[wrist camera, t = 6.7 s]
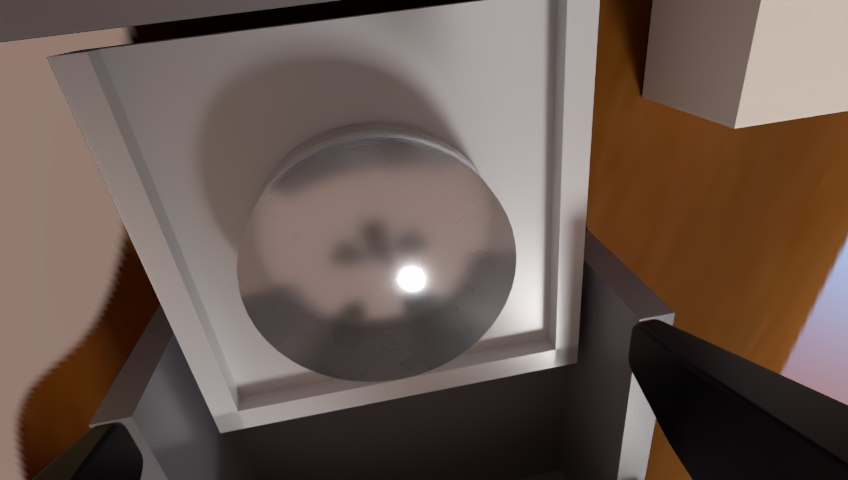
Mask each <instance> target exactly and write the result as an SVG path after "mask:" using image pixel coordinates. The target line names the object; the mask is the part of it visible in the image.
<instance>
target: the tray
mask: <svg viewBox="0 0 848 480" xmlns="http://www.w3.org/2000/svg"><path fill="white" fill-rule="evenodd" d="M331 1H339V0H0V42H7V41H15V40H23V39H31V38H40V37H47V36H56V35H63V34H72V33H80V32H88V31H95V30H104V29H112V28H120V27H128V26H137V25H145V24H153V23H161V22H169V21H177V20H185V19H193V18H201V17H209V16H217V15H225V14H234V13H242V12H250V11H258V10H266V9H274V8H282V7H290V6H298V5H306V4H314V3H322V2H331ZM599 6H600V0H473V1H465V2H457V3H449V4H441V5H433V6H425V7H417V8H410V9H402V10H394V11H386V12H378V13H370V14H362V15H354V16H346V17H339V18H331V19H323V20H315V21H307V22H299V23H291V24H283V25H275V26H268V27H260V28H252V29H244V30H236V31H228V32H220V33H212V34H204V35H197V36H189V37H181V38H173V39H165V40H157V41H149V42H141V43H133V44H126V45H118V46H110V47H103V48H94V49H86V50H79V51H74V52H70V53H64V54H59V55H55V56H50V57H47V59H48V61H49V63H50V65H51V67H52V70H53V72H54V74H55V76H56V78H57V80H58V82H59V85H60V87H61V89H62V91H63V93H64V96H65V98H66V100H67V102H68V104H69V106H70V109H71V111H72V113H73V115H74V117H75V119H76V122H77V124H78V126H79V128H80V130H81V132H82V135H83V136H84V139H85V141H86V143H87V145H88V148H89V150H90V152H91V154H92V156H93V159H94V161H95V163H96V165H97V167H98V169H99V172H100V173H101V176H102V178H103V180H104V182H105V184H106V187H107V189H108V191H109V193H110V195H111V197H112V200H113V202H114V204H115V206H116V208H117V211H118V213H119V215H120V217H121V219H122V221H123V224H124V226H125V228H126V230H127V232H128V234H129V237H130V239H131V241H132V243H133V245H134V247H135V250H136V252H137V254H138V256H139V258H140V260H141V263H142V265H143V267H144V269H145V271H146V273H147V276H148V278H149V280H150V282H151V284H152V286H153V289H154V291H155V293H156V295H157V297H158V299H159V302H160V304H161V306H162V308H163V310H164V312H165V315H166V317H167V319H168V321H169V323H170V325H171V328H172V330H173V332H174V334H175V336H176V338H177V341H178V343H179V345H180V347H181V349H182V351H183V354H184V356H185V358H186V360H187V362H188V364H189V367H190V369H191V371H192V373H193V375H194V377H195V380H196V382H197V384H198V386H199V388H200V390H201V393H202V395H203V397H204V399H205V401H206V403H207V406H208V408H209V410H210V412H211V414H212V416H213V419H214V421H215V423H216V425H217V427H218V430H219V432H220V433H224V432H229V431H234V430H240V429H245V428H250V427H255V426H260V425H265V424H270V423H275V422H280V421H285V420H290V419H295V418H300V417H305V416H310V415H315V414H321V413H326V412H331V411H336V410H341V409H346V408H351V407H356V406H361V405H366V404H371V403H376V402H381V401H386V400H391V399H397V398H402V397H407V396H412V395H417V394H422V393H427V392H432V391H437V390H442V389H447V388H452V387H457V386H462V385H467V384H473V383H478V382H483V381H488V380H493V379H498V378H503V377H508V376H513V375H518V374H523V373H528V372H533V371H538V370H543V369H548V368H554V367H559V366H564V365H569V364H574V363H577V356H578V340H579V324H580V308H581V293H582V277H583V261H584V245H585V229H586V213H587V197H588V181H589V165H590V149H591V133H592V117H593V101H594V85H595V69H596V54H597V38H598V22H599ZM374 121H381V122H394V123H400V124H405V125H410V126H414V127H417V128H419V129H422V130H425V131H428V132H430V133H432V134H434V135H436V136H438V137H440V138H442V139H444V140H445V141H447V142H448V143H450V144H451V145H452V146H454V147H455V148H457V149H458V150H459V151H460V152H461V153H462V154H463V155H464V156H465V157H466V158H467V159H468V160H469V161H470V162H471V163H472V165H473V166H474V167H475V168H476V170H477V171H478V172H479V173H480V175H481V176H482V178H483V179H484V180H485V182H486V183H487V185H488V186H489V187H490V189H491V190H492V192H493V193H494V194H495V196H496V197H497V199H498V200H499V202H500V203H501V205H502V207H503V209H504V210H505V212H506V214H507V216H508V219H509V222H510V224H511V227H512V230H513V234H514V239H515V244H516V270H515V277H514V281H513V285H512V289H511V292H510V294H509V297H508V299H507V302H506V304H505V306H504V308H503V309H502V311H501V313H500V315H499V316H498V318H497V319H496V321H495V322H494V323H493V325H492V326H491V328H490V329H489V330H488V331H487V332H486V333H485V334H484V335H483V336H482V337H481V339H479V340H478V341H477V342H476V343H475V344H474V345H473V346H471V347H470V348H469V349H468V350H466V351H465V352H463V353H462V354H461V355H459V356H458V357H456V358H455V359H453V360H451V361H449V362H447V363H446V364H444V365H442V366H440V367H437V368H435V369H433V370H430V371H428V372H425V373H422V374H419V375H416V376H412V377H408V378H403V379H399V380H391V381H383V382H360V381H349V380H343V379H337V378H333V377H329V376H326V375H322V374H319V373H316V372H314V371H311V370H309V369H306V368H304V367H302V366H300V365H299V364H297V363H295V362H293V361H291V360H290V359H288V358H287V357H285V356H284V355H283V354H281V353H280V352H278V351H277V350H276V349H275V348H274V347H273V346H272V345H271V344H270V343H268V342H267V341H266V340H265V338H264V337H263V336H262V335H261V334H260V332H259V331H258V330H257V329H256V327H255V326H254V324H253V322H252V321H251V319H250V317H249V316H248V314H247V311H246V309H245V307H244V304H243V302H242V299H241V295H240V291H239V287H238V279H237V258H238V250H239V246H240V242H241V238H242V235H243V232H244V230H245V227H246V225H247V223H248V220H249V218H250V215H251V213H252V211H253V208H254V206H255V203H256V201H257V199H258V196H259V194H260V192H261V189H262V187H263V185H264V184H265V182H266V180H267V179H268V177H269V175H270V174H271V172H272V171H273V170H274V169H275V168H276V166H277V165H278V164H279V163H280V162H281V160H282V159H284V158H285V157H286V156H287V155H288V154H289V153H290V152H291V151H293V150H294V149H295V148H296V147H298V146H299V145H301V144H302V143H304V142H305V141H307V140H308V139H310V138H312V137H314V136H316V135H318V134H321V133H323V132H325V131H327V130H330V129H334V128H337V127H340V126H343V125H348V124H354V123H359V122H374Z"/></svg>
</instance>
